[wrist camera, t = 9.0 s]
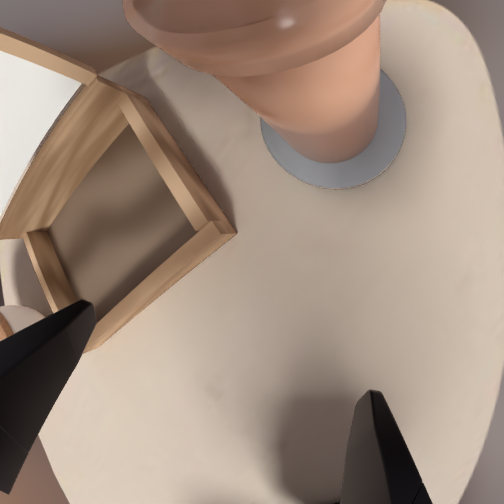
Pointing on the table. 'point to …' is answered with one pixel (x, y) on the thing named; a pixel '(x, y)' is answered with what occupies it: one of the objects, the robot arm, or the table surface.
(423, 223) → the table surface
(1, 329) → the lidded jar
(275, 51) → the tan cylindrical canister
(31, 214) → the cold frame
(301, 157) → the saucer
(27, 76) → the lid
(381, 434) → the robot arm
